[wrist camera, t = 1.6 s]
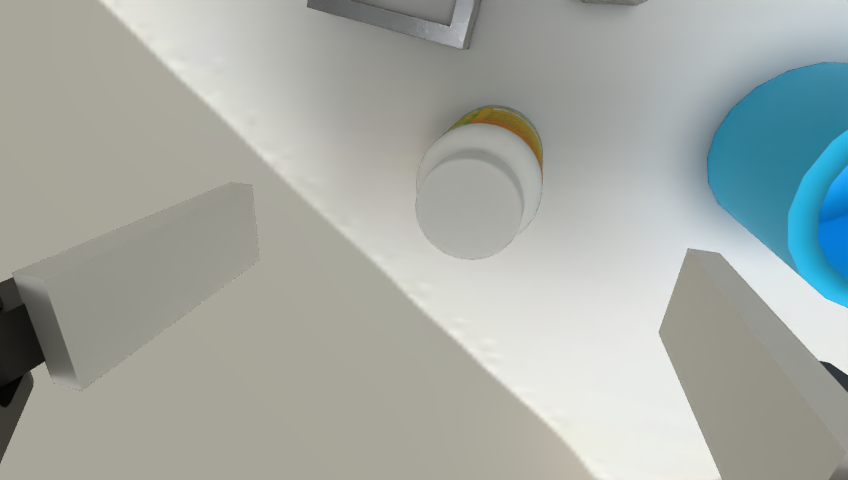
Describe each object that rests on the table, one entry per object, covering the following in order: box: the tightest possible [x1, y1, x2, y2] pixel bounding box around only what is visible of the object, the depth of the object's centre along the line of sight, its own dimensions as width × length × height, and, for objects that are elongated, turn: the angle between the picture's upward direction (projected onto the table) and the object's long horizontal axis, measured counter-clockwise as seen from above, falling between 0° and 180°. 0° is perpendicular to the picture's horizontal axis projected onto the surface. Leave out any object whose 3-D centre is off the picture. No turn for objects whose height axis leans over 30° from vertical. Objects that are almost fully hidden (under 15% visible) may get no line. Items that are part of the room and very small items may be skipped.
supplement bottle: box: [416, 106, 543, 260], centre depth 20 cm, size 5×5×10 cm
